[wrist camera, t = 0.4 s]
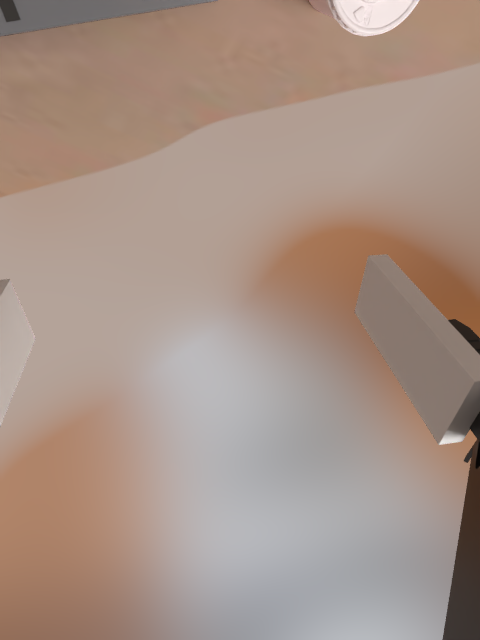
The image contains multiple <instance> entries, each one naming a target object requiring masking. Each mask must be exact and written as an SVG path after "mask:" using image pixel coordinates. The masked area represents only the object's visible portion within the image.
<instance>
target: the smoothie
mask: <svg viewBox="0 0 480 640" xmlns="http://www.w3.org/2000/svg"><path fill="white" fill-rule="evenodd" d="M309 2H310V4H311V5H312V6H313V7H314V8H315V9H316V10H317V11H319V12H321V13H324V14H326V15H328V16H330V17H332V18H334V19H336V20H337V22H338V23H339V24H340V25H341V26H342V28H344V29H346V30H347V31H349V32H350V33H352V34H355V35H360V36H370V35H378V34H382V33H385V32H387V31H389V30H391V29H393V28H394V27H396V26H397V25H399V24H400V23H401V22H402V21H403V20H404V19H406V17H407V16H408V15H409V14H410V13H411V12H412V10H413V9H414V8H415V6H416V5H417V3H418V2H419V0H309Z"/></svg>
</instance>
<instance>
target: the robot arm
mask: <svg viewBox="0 0 480 640" xmlns="http://www.w3.org/2000/svg"><path fill="white" fill-rule="evenodd" d="M355 314H356V315H357V317H358V318H359V320H360V322H361V323H362V325H363V326H364V328H365V329H366V331H367V332H368V334H369V336H370V337H371V339H372V340H373V342H374V344H375V345H376V347H377V348H378V350H379V351H380V353H381V355H382V356H383V358H384V359H385V361H386V362H387V364H388V366H389V367H390V369H391V370H392V372H393V374H394V375H395V377H396V378H397V380H398V381H399V383H400V384H401V386H402V388H403V389H404V391H405V392H406V394H407V396H408V397H409V399H410V400H411V402H412V403H413V405H414V407H415V408H416V410H417V411H418V413H419V415H420V416H421V417H422V419H423V421H424V422H425V424H426V426H427V427H428V429H429V430H430V432H431V433H432V434H433V437H434V438H435V440H436V441H437V443H438V444H439V445H440V444H448V443H455V442H462V441H463V439H464V438H465V436H466V435H467V433H468V431H469V430H470V429H471V431H472V432H473V433H474V435H475V436H476V437H477V441H476V442H475V443H474V445H473V446H472V448H471V449H470V451H469V453H468V454H467V455H466V457H465V459H464V461H465V462H467V463H468V461H469V460H470V458H471V464H470V470H469V477H468V483H467V489H466V495H465V502H464V508H463V514H462V521H461V527H460V533H459V540H458V546H457V552H456V559H455V565H454V572H453V578H452V585H451V590H450V597H449V603H448V609H447V616H446V622H445V628H444V635H443V640H480V338H479V337H478V336H477V335H476V334H475V333H474V332H473V331H472V330H471V329H470V328H469V327H467V326H465V325H464V324H462V323H461V322H459V321H457V320H456V319H453V320H447V319H446V318H445V317H444V316H443V315H442V313H441V312H440V311H439V310H438V309H437V308H436V307H435V306H434V305H433V304H432V303H431V302H430V300H429V299H428V298H427V297H426V296H425V295H424V294H423V293H422V292H421V291H420V290H419V289H418V288H417V286H415V284H414V283H413V282H412V281H411V280H410V279H409V278H408V277H407V276H406V275H405V273H404V272H403V271H402V270H401V269H400V268H399V267H398V266H397V265H396V264H395V263H394V262H393V260H392V259H390V257H389V256H388V255H372V256H368V260H367V264H366V268H365V272H364V276H363V281H362V284H361V288H360V292H359V296H358V300H357V304H356V308H355ZM34 342H35V336H34V334H33V332H32V329H31V327H30V324H29V322H28V320H27V318H26V315H25V313H24V310H23V308H22V306H21V303H20V301H19V298H18V296H17V294H16V291H15V289H14V287H13V284H12V282H11V280H10V279H7V280H0V425H1V423H2V421H3V418H4V416H5V413H6V411H7V409H8V406H9V404H10V401H11V399H12V396H13V394H14V391H15V389H16V386H17V384H18V381H19V379H20V377H21V374H22V371H23V369H24V367H25V364H26V362H27V359H28V357H29V354H30V352H31V349H32V347H33V344H34Z"/></svg>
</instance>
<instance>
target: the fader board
mask: <svg viewBox="0 0 480 640" xmlns="http://www.w3.org/2000/svg"><path fill="white" fill-rule="evenodd" d="M214 1H218V0H0V36H6V35H12V34H18V33H24V32H31V31H37V30H43V29H49V28H55V27H61V26H67V25H73V24H79V23H85V22H92V21H98V20H104V19H110V18H116V17H122V16H128V15H134V14H140V13H146V12H153V11H159V10H165V9H171V8H177V7H183V6H189V5H195V4H201V3H207V2H214Z"/></svg>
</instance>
